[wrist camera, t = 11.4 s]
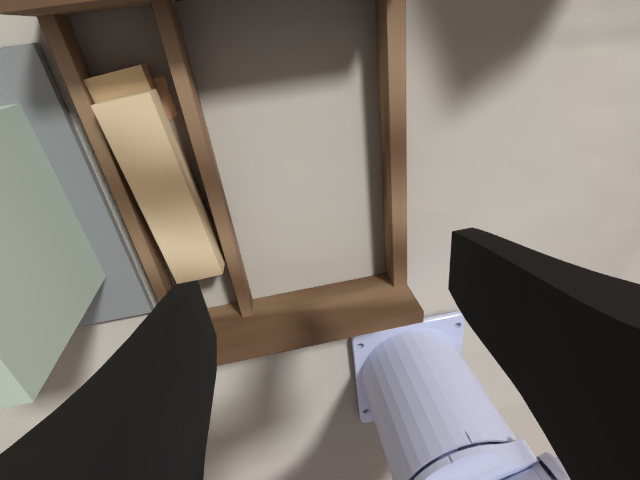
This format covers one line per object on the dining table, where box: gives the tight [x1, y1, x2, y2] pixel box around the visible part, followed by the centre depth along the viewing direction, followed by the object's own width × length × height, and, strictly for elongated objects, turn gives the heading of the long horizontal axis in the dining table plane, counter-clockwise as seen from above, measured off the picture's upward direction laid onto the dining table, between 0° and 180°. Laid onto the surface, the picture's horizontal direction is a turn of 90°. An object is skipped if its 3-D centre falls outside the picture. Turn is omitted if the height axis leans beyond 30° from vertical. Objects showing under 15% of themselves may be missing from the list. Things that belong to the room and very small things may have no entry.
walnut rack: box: [0, 0, 424, 366], centre depth 18 cm, size 17×14×4 cm
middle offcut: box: [83, 63, 225, 261], centre depth 18 cm, size 10×2×1 cm, turn 13°
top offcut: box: [91, 89, 225, 284], centre depth 18 cm, size 9×2×1 cm, turn 12°
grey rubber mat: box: [0, 43, 154, 327], centre depth 18 cm, size 14×6×1 cm, turn 7°
